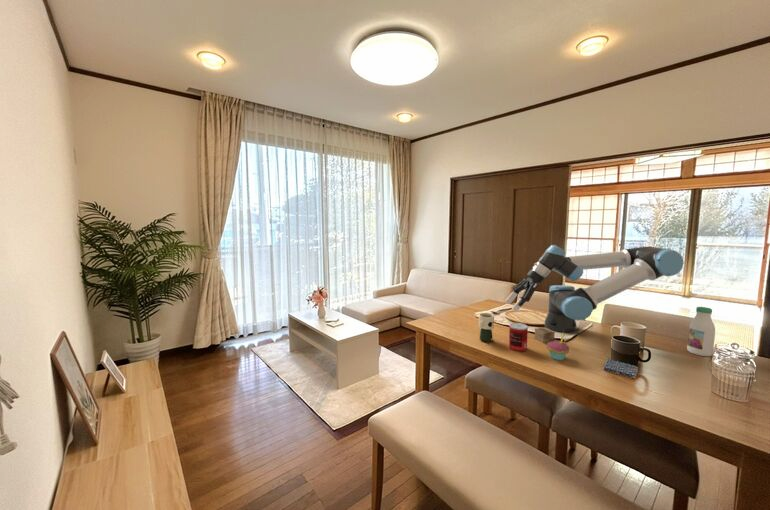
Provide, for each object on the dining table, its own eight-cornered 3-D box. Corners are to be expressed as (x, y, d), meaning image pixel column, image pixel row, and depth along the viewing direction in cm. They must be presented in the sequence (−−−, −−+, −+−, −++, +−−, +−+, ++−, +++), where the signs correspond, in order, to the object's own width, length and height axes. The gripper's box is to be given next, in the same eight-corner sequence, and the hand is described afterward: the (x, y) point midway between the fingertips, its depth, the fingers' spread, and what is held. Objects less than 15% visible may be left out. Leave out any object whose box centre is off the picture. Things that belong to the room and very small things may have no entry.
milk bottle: (704, 349, 132) (709, 306, 129) (717, 357, 125) (722, 311, 122) (682, 347, 135) (687, 304, 132) (693, 355, 127) (698, 310, 125)
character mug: (487, 345, 143) (488, 319, 141) (474, 341, 148) (474, 316, 146) (497, 338, 151) (498, 313, 149) (484, 334, 156) (484, 310, 154)
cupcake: (567, 355, 131) (568, 328, 130) (570, 364, 124) (571, 336, 122) (545, 352, 135) (546, 326, 133) (546, 360, 127) (547, 333, 126)
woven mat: (638, 370, 118) (639, 365, 118) (635, 381, 111) (636, 376, 110) (606, 361, 125) (606, 357, 125) (601, 371, 118) (601, 366, 118)
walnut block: (545, 337, 151) (545, 327, 150) (553, 341, 145) (554, 332, 145) (534, 338, 150) (534, 328, 149) (543, 343, 144) (543, 333, 143)
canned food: (523, 344, 143) (524, 322, 141) (529, 352, 135) (530, 328, 134) (506, 344, 144) (507, 322, 142) (512, 352, 136) (512, 328, 134)
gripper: (524, 264, 161) (499, 295, 165) (540, 273, 136) (510, 309, 141) (536, 272, 160) (510, 303, 165) (554, 283, 136) (524, 318, 140)
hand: (510, 306), depth 153 cm, fingers open, 13 cm apart
